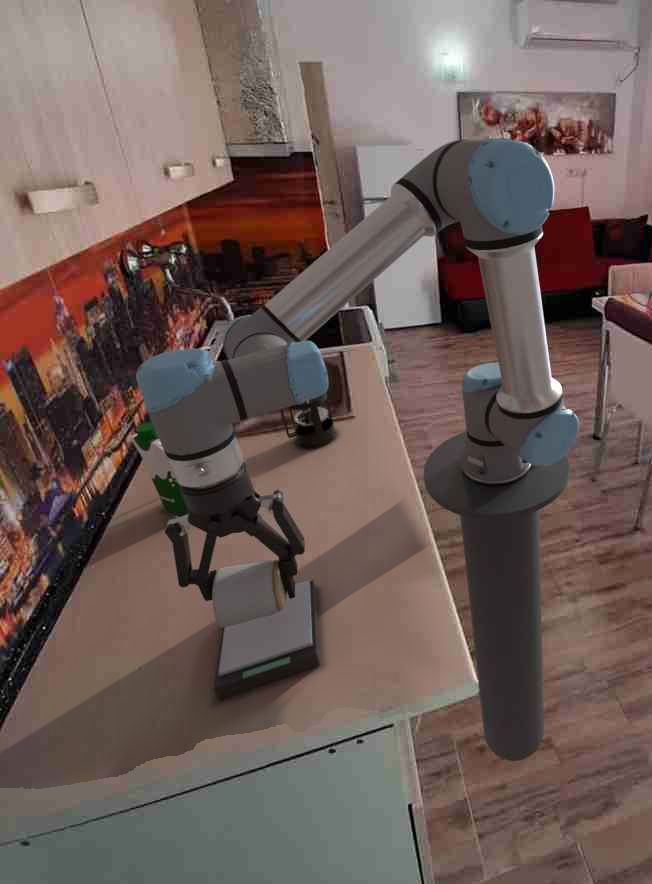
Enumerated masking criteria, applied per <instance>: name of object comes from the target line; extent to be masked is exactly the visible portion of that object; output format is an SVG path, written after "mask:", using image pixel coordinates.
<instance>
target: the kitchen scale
mask: <svg viewBox="0 0 652 884" xmlns="http://www.w3.org/2000/svg"><path fill="white" fill-rule="evenodd" d="M318 616H319V614H318V596H317V588H316V585H315V581H314V579H311V580H310V579H307V580H305V581H301V582H297V583H295V598H291V599H289V596H288V593H287V598H286V604H285V606H284V608H283V609H282V610H281V611H280V612H277V613H275V614H273V615H270V616H266V617H262V618H258V619H254V620H251V621H247V622H243V623H239V624H235V625H232V626H228V627H224V628H222V630H221V637H220V644H219V645H220V646H219V651H218V652H219V653H218V659H217V665H216V666H217V668H216V671H215V672H216V674H215V679H214V680H215V681H214V687H213V689H214V691H215V693H216V696H217V697H218V700H219V701H220V700H224V699H227V698H230V697H232V696H236V695H238V694H241V693H244V692H247V691H249V690H252V689H257V688H258V687H261V686H264V685H268V684H270V683H273V682H276V681H279V680H281V679H282V680H283V679H285V678H287V677H290V676H293V675H296V674H299V673H302V672H305V671H308V670H311V669H314V668H317V667H319V666H321V652H320V636H319V635H320V634H319V617H318Z"/></svg>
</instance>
